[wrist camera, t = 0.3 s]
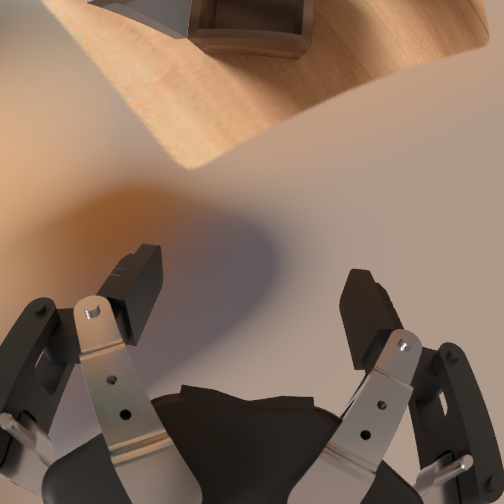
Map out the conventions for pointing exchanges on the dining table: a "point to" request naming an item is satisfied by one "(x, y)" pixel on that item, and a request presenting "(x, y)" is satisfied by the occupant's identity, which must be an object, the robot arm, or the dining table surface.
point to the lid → (153, 13)
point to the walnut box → (252, 27)
